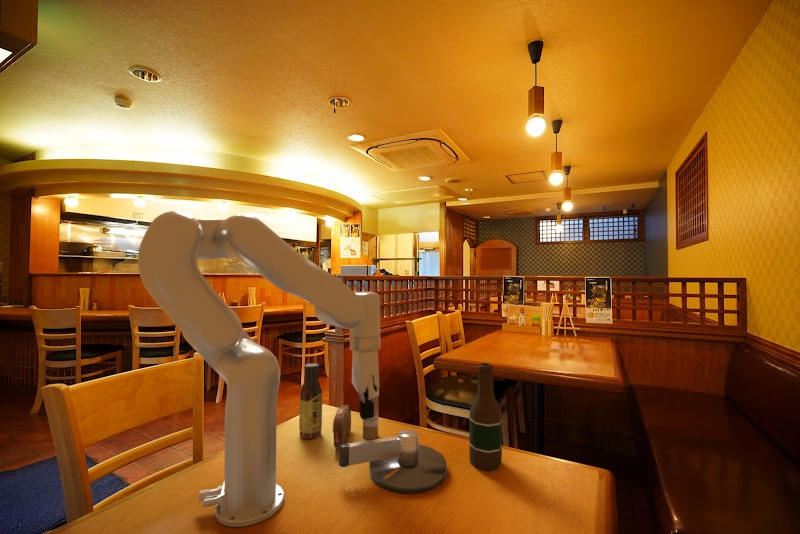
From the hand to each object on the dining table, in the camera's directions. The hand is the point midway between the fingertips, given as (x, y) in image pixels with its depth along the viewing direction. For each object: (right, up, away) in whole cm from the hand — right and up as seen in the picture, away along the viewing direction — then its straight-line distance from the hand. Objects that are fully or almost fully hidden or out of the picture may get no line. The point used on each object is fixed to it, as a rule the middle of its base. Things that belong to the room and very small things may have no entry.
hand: (367, 417), depth 88 cm
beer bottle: (+29, -11, -1) cm, 31 cm away
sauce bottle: (-17, -11, +14) cm, 25 cm away
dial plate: (+10, -11, -4) cm, 15 cm away
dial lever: (+3, -8, -6) cm, 11 cm away
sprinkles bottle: (0, -11, +14) cm, 18 cm away
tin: (-8, -11, +11) cm, 18 cm away
